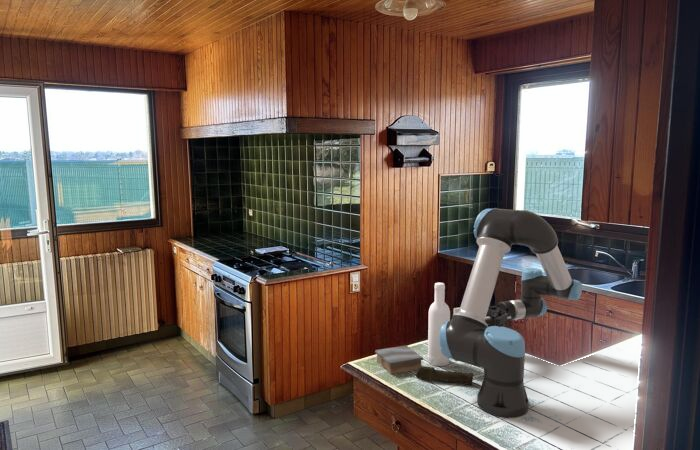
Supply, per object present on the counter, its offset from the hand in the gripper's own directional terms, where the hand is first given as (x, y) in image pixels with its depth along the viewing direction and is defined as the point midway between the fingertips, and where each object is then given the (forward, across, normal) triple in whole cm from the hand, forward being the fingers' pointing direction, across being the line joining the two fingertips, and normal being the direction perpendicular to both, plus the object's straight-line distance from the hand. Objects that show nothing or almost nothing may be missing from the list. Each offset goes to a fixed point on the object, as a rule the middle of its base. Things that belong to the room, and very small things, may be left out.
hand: (463, 317), depth 190 cm
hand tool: (+18, -15, -16) cm, 28 cm away
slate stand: (+26, +3, -16) cm, 30 cm away
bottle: (+11, 0, -16) cm, 19 cm away
